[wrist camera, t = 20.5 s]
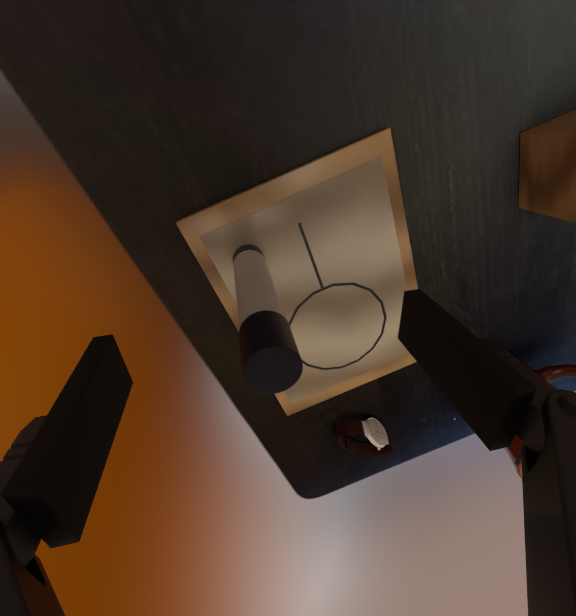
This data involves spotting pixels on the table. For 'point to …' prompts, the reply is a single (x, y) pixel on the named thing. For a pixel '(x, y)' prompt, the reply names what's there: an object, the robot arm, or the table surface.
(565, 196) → the wooden block
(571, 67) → the table surface
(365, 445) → the watch
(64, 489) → the robot arm
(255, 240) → the sketch pad
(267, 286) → the marker
